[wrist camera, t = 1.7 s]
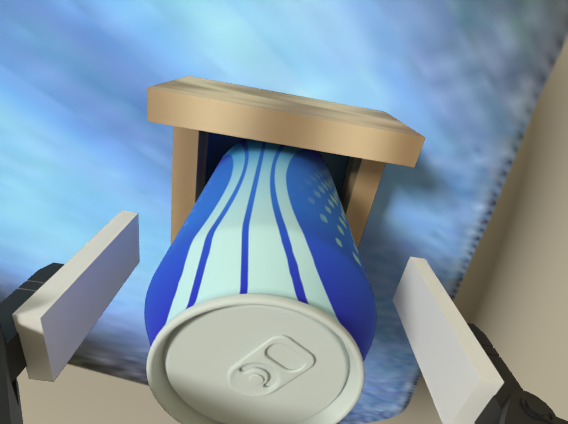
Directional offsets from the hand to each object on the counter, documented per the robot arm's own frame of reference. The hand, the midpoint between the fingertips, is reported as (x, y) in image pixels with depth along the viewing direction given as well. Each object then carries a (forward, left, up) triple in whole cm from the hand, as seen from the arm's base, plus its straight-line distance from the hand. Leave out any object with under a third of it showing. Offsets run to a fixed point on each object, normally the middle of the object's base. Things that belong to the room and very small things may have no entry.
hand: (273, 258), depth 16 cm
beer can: (0, 0, -10) cm, 10 cm away
